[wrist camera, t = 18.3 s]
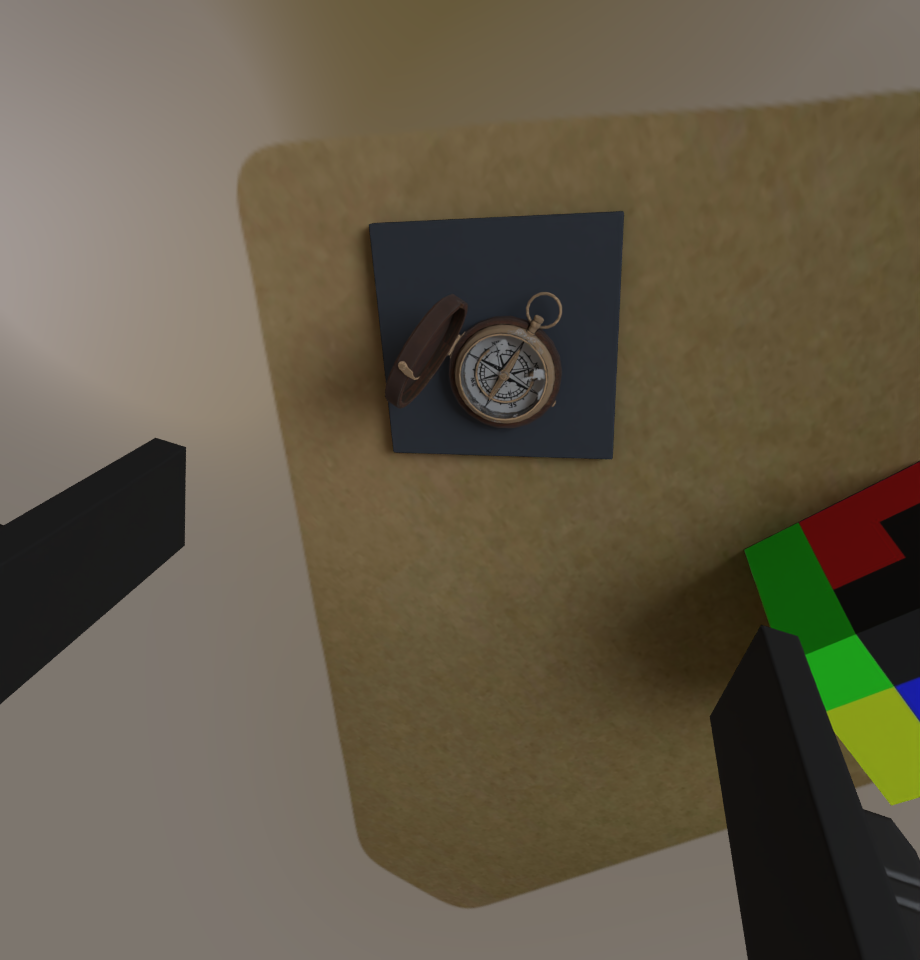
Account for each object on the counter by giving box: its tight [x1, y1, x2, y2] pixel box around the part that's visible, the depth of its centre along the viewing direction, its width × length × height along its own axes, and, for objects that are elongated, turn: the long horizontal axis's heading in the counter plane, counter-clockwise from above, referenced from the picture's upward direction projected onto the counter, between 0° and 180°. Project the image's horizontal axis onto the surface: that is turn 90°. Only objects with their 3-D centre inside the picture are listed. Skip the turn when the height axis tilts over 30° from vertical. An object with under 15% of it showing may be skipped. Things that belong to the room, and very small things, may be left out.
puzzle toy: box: [744, 462, 920, 805], centre depth 33 cm, size 10×10×10 cm
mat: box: [369, 211, 624, 459], centre depth 36 cm, size 13×13×1 cm
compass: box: [385, 292, 562, 428], centre depth 32 cm, size 8×8×7 cm
